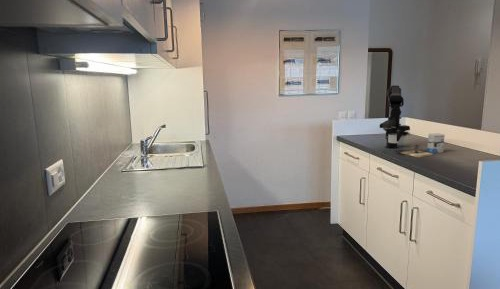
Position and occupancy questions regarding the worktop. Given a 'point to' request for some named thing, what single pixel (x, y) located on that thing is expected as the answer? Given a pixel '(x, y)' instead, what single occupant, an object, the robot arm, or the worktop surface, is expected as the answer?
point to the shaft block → (416, 152)
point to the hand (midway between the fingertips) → (393, 140)
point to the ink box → (435, 143)
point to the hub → (392, 138)
